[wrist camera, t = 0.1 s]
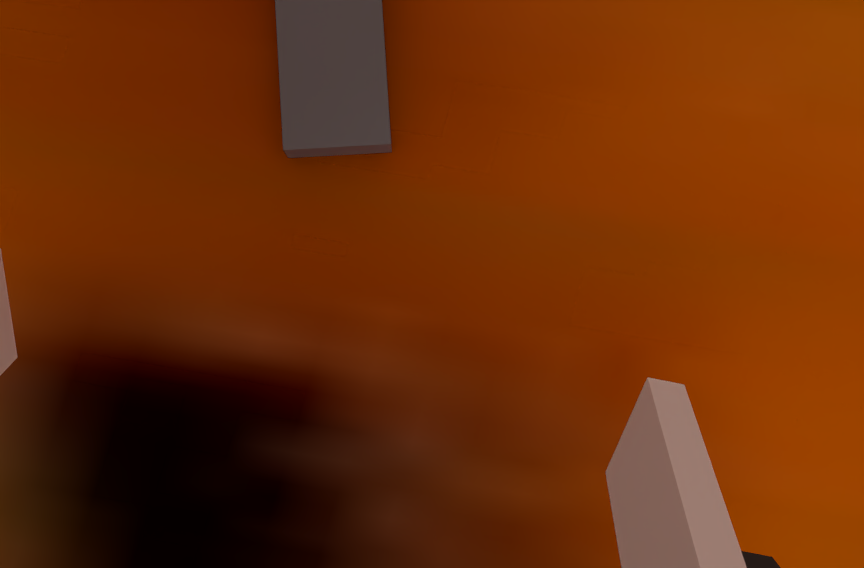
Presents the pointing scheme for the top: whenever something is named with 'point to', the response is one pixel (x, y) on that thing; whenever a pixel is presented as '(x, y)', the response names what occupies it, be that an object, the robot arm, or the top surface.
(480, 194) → the top surface
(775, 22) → the top surface
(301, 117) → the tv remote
